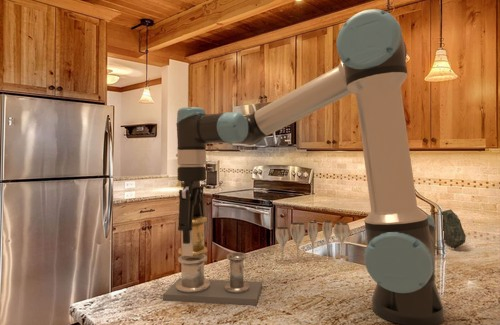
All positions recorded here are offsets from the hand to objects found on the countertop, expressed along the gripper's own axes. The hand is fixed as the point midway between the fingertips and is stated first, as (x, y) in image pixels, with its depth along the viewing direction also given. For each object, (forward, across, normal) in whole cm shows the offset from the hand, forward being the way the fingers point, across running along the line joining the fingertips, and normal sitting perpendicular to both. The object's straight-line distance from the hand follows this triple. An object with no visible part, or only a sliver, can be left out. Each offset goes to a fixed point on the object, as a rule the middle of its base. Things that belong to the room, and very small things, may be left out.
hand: (192, 251), depth 95 cm
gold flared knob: (0, 0, 0) cm, 0 cm away
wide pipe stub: (+10, 0, 0) cm, 10 cm away
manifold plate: (+11, 0, +6) cm, 13 cm away
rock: (+11, -60, +87) cm, 107 cm away
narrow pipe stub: (+10, 0, +12) cm, 15 cm away
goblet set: (+11, -35, +33) cm, 49 cm away
